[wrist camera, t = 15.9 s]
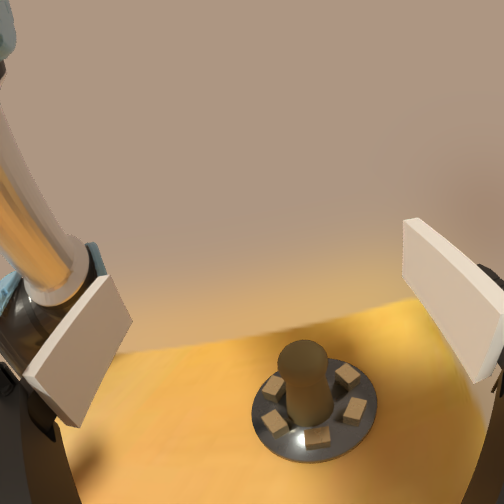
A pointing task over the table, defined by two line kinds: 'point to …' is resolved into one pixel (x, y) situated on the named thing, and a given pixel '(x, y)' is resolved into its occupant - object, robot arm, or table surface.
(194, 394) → the table surface
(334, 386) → the ring holder
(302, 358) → the cork
